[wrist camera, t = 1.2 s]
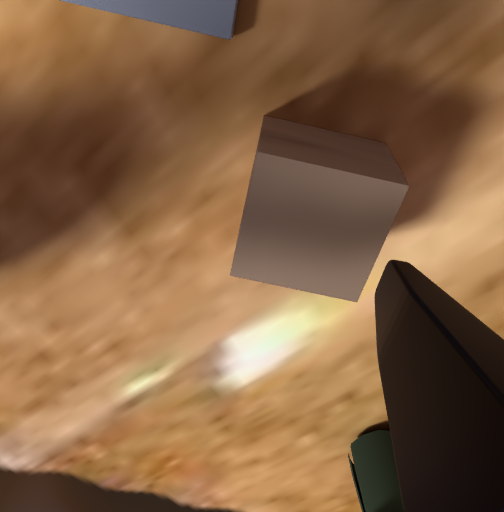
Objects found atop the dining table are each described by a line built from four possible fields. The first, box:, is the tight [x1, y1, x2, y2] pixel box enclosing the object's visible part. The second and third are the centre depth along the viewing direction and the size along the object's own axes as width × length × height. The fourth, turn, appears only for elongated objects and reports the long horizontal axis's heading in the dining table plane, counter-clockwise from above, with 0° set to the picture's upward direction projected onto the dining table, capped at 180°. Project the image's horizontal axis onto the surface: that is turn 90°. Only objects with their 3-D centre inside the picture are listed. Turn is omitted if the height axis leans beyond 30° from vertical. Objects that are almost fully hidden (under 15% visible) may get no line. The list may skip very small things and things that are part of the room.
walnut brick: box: [230, 115, 409, 302], centre depth 20 cm, size 6×6×5 cm
